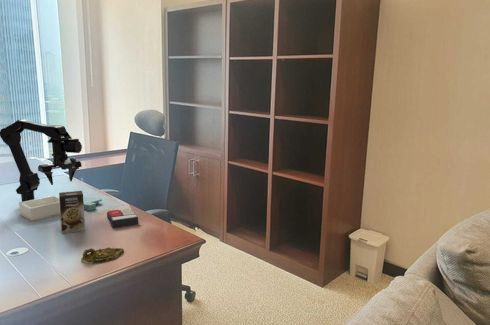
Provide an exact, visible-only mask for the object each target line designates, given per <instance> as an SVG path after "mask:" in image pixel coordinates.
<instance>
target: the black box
mask: <svg viewBox="0 0 490 325" xmlns="http://www.w3.org/2000/svg"><path fill="white" fill-rule="evenodd" d="M106 217H107V220H108V223H110V225H111V227H112V229H118V228H123V227H125V228H126V227H132V226H137V225H139V216H138V215H137V214H136V213H135V212H134V211H133V210H132V209H131V208H130V207H129V208H121V209H113V210H108V211H107V212H106Z"/></svg>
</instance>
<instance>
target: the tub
mask: <svg viewBox="0 0 490 325" xmlns="http://www.w3.org/2000/svg"><path fill="white" fill-rule="evenodd" d="M18 207H19V213H20V216H22V217H23V218H24V219H27V221H30V222H34V221H38V220H44V219H46V218H47V219H48V218H51V217H54V216H58V215H60V201H59V196H57V195H49V196H45V197H40V198H35V199H34V200H29V201H24V202H22V201H20V202H19V203H18Z"/></svg>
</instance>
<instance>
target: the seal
mask: <svg viewBox="0 0 490 325" xmlns="http://www.w3.org/2000/svg"><path fill="white" fill-rule="evenodd" d="M124 251H125V250H124V249H123V248H116V247H105V248H102V249H101V248H99V249H96V250H95V249H94V248H91V247H90V248H88V249H84V251H83V252H82V256H81V261H80V262H81V263H82V264H83V263H84V264H89V265H90V264H101V263H105V262H110V261H113V260H115V259H118V258H120V256H121V255H122V254H123V253H124Z"/></svg>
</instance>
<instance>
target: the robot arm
mask: <svg viewBox="0 0 490 325" xmlns="http://www.w3.org/2000/svg"><path fill="white" fill-rule="evenodd" d="M25 130H27V131H33V132H36V133H40V134H43V135H45V136H46V137H47V138H49V139H48V140H47V143H48V144H50V143H51V146H52V147H51V149H52V153H51V157H52V159H53V160H52V165H50V164H47V163H44V164H39V165H38V166H37V171H38V172H40V173H42V174H44V175H45V176H46V178H47V181H49V183H50V185H51V186H53V185H54V179H53V171H52V170H56V169H57V170H58V169H61V170H63V171H66V170H68V178H69V182H73V178H74V175H75V173H76V172H77V170H79V169H80V168H81V167H83V166H82V162H81V161H80V160H76V158H75V157H71V158H69V157H68V154H67V153H69V154H70V153H71V154H79V153H81V152H82V148H83V145H82V143H81V141H80V138H72V136H71V135H70V133H69V132H68V131H67V129H66V127H65V126H64V125H57V124H56V125H55V124H54V125H53V124H51V125H49V124H44V123H39V122H36V121H31V120H28V119H26V118H25V119H18V120H16V121H14V122H13V123H11V124H10V125H8V126H6V127H3V128H1V129H0V138H1V140H2V142H3V143H4V144H5V145H7V146H8V147H9V150H10V153H11V154H12V158H13V160H14V162H15V164H16V167H17V170H18V172H19V185H18V187H17V188H16V189H15V192H16V194H17V195H20V198H21V202H24V201H29V200H34V199H36V198H35V191H37V190H38V188H39V186H40V181H41V179H40V177H39V173H38V172H33V171H32V169H31V167H30V165H29V162H28V159H27V158H26V155H25V152H24V149H23V146H22V144H21V140H22V135H21V133H23V132H24V131H25Z"/></svg>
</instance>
